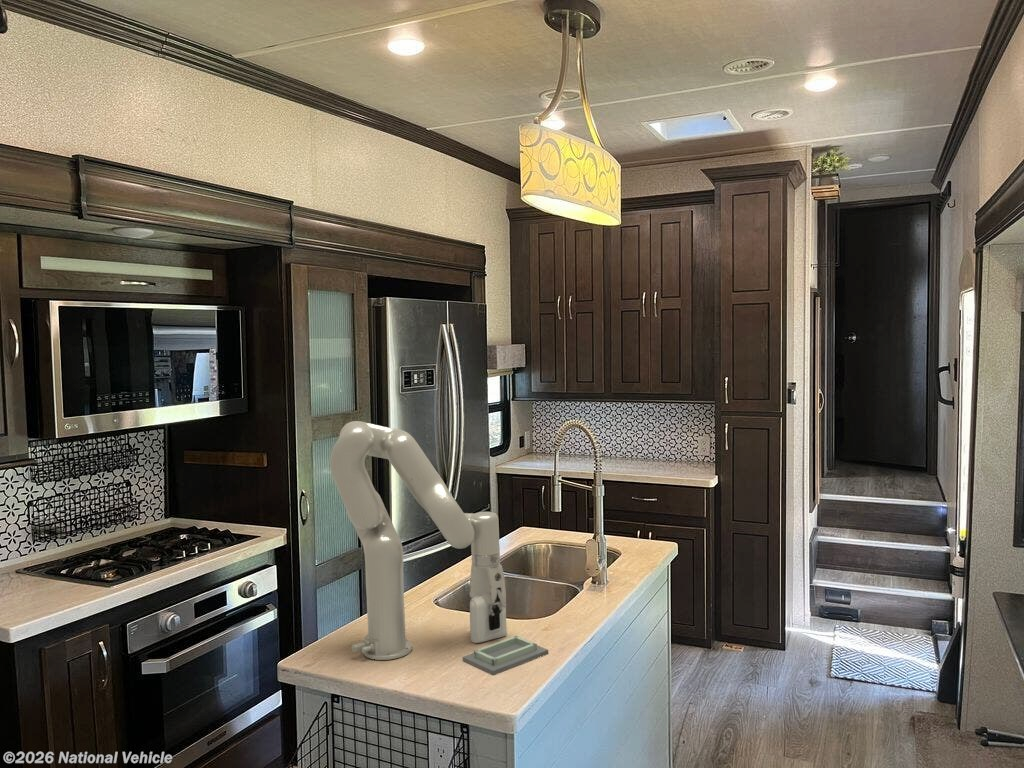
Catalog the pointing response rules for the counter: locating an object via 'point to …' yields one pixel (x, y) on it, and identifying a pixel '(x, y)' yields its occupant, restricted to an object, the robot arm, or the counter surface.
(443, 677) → the counter surface
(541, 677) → the counter surface
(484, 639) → the photo printer
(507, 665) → the dock
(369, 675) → the counter surface
